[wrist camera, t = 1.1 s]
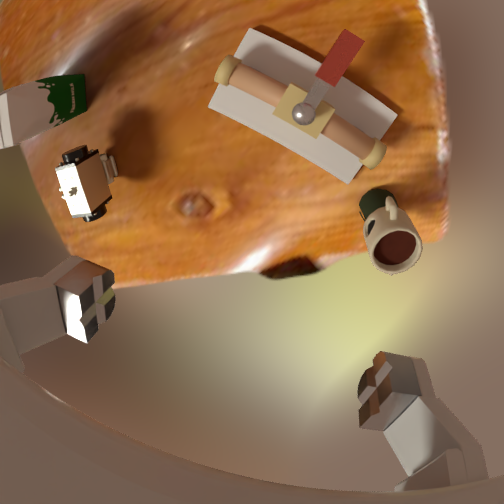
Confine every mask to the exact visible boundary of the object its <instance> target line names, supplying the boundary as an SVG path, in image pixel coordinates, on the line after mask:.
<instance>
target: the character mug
mask: <svg viewBox="0 0 504 504" xmlns="http://www.w3.org/2000/svg"><path fill="white" fill-rule="evenodd" d="M359 206H360V208H361V210H362V212H363V214H364V217H365V219H366V220H365V219H364V218H363V216H362V215H361V216H362V218H363V220H364V221H365V223H364V227H363V233H364V238H365V241H366V245H367V248H368V252H369V255H370V259H371V261H372V264H373V265H374V266H375V267H376V268H377V269H378V270H380V271H382V272H384V273H389V275H393V274H397V273H401V272H404V271H406V270H408V269H409V268H411V267H412V266H413V265H414V264H415V263H416V262H417V261H418V259H419V258H420V255H421V252H422V240H421V238H420V236H419V234H418V232H417V230H416V229H415V227H414V225H413V223H412V221H411V220H410V218H409V216H408V215H407V214H406V212H405V211H404V210H402V209H400V208H399V207H398V204H397V202H396V200H395V198H394V196H393V194H391V193H390V192H388V191H387V190H382V189H375V190H371V191H368V192H367V193H366V194H365V195H364V196H362V199H361V201H360V203H359ZM360 214H361V213H360Z"/></svg>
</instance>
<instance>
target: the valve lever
mask: <svg viewBox="0 0 504 504" xmlns="http://www.w3.org/2000/svg"><path fill="white" fill-rule="evenodd" d="M364 42H365V41H364V40H362V39H360V38H359V37H357V36H356V35H354V34H352V33H351V32H349V31H347V30H346V29H344V30H343V31H342V33H341V34H340V36H339V37H338V39H337V40H336V42H335V43H334V45H333V46H332V48H331V50H330V51H329V53H328V54H327V56H326V57H325V59H324V61H323V62H322V64H321V65H320V67H319V68H318V70H317V72H316V73H315V76H316V77H317V79H316V81H315V82H314V84H313V85H312V87H311V89H310V90H309V92H308V93H307V95H306V97H305V98H304V100H303V102H300V103H298V104H296V105H295V106H294V108H293V110H292V117H293V120H294V121H295V122H296V123H297V124H299V125H304V126H305V125H309V124H311V123H312V122H313V121H314V120H315V117H316V113H315V109H316V108H317V106H318V105H319V103H320V102H321V100H322V98H323V97H324V95H325V94H326V92H327V91H328V89H329V87H330V86H331V85H332V86H333V87H335V86H336V85H337V83H338V82H339V80H340V78H341V77H342V75H343V74H344V72H345V71H346V69H347V68H348V66H349V65H350V63H351V62H352V60H353V59H354V57H355V55H356V54H357V52H358V51H359V49H360V48H361V46H362V45H363V43H364Z"/></svg>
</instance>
